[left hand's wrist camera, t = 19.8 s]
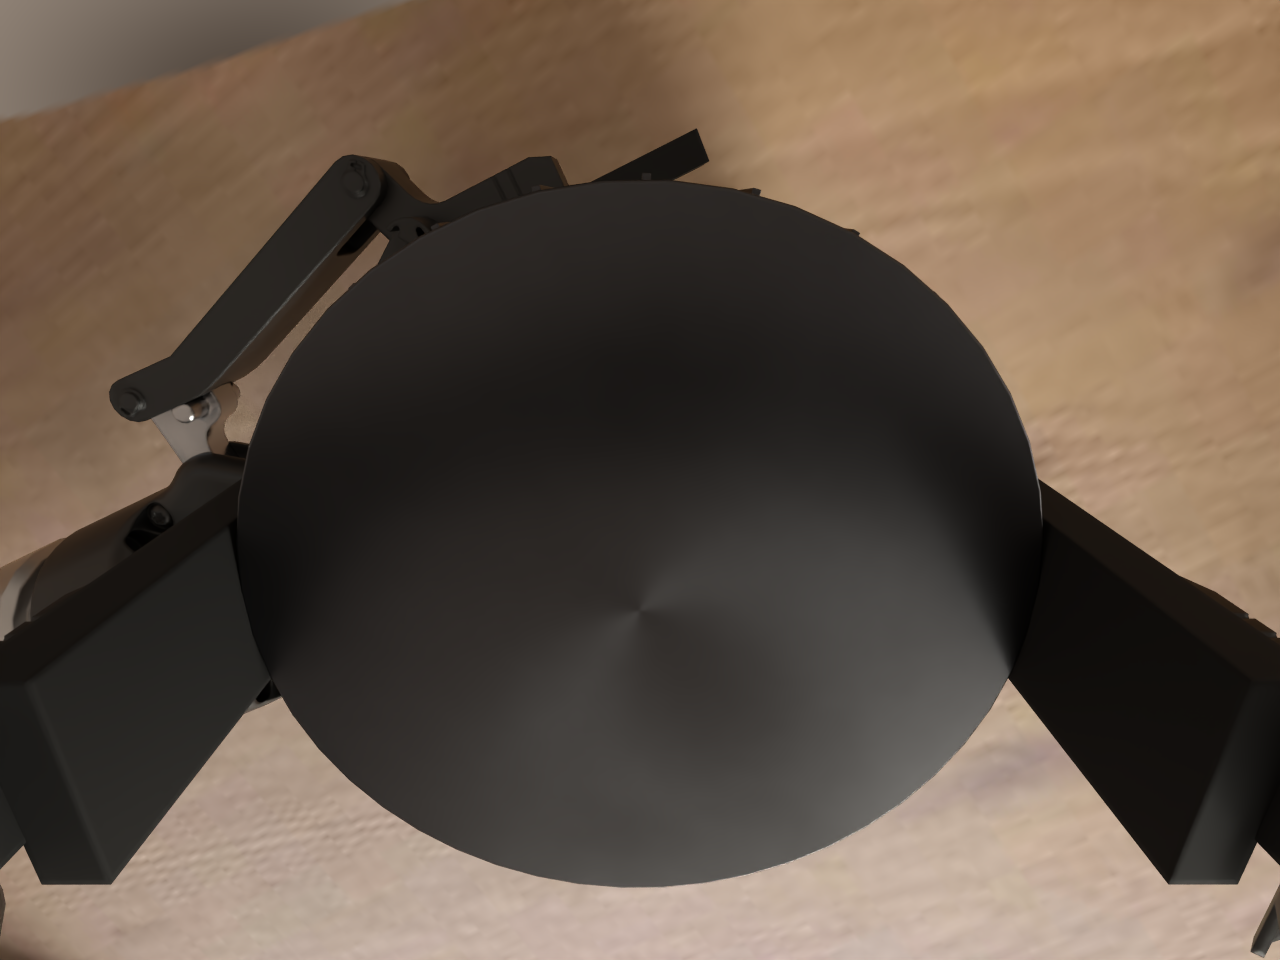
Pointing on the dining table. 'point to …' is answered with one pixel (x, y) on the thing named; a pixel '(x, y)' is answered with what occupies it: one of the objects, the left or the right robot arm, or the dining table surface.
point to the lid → (639, 533)
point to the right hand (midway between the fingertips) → (776, 350)
